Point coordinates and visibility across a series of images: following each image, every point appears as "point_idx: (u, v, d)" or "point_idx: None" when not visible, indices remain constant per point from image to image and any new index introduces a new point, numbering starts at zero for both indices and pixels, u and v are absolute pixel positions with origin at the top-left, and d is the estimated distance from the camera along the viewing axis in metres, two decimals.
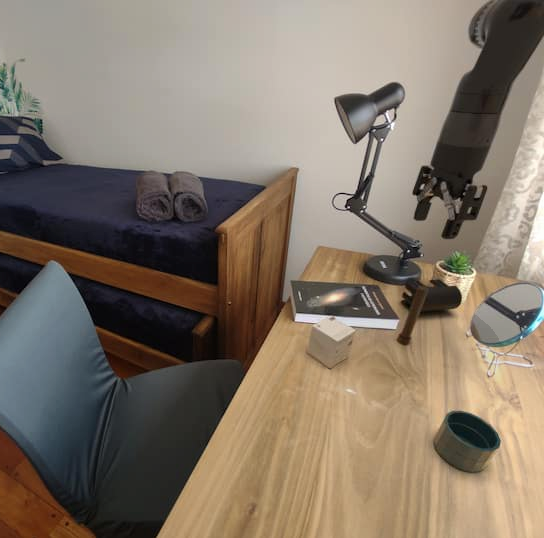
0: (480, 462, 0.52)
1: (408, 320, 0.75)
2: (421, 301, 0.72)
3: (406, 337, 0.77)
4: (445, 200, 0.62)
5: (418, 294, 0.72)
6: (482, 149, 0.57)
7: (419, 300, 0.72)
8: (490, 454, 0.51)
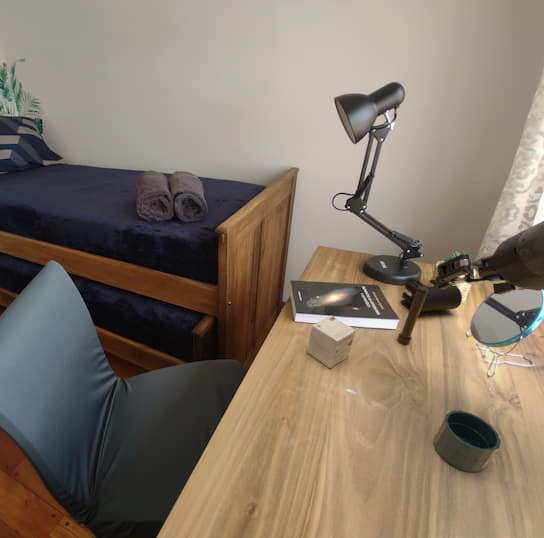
0: (480, 462, 0.52)
1: (408, 320, 0.75)
2: (421, 301, 0.72)
3: (406, 337, 0.77)
4: (519, 287, 0.52)
5: (418, 294, 0.72)
6: None
7: (419, 300, 0.72)
8: (490, 454, 0.51)
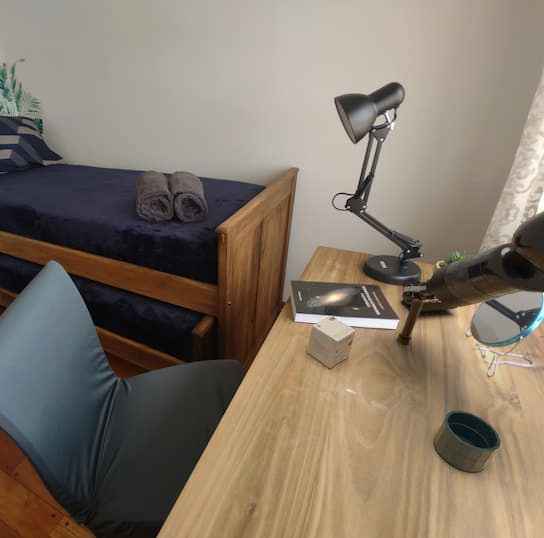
0: (480, 462, 0.52)
1: (408, 320, 0.75)
2: None
3: (406, 337, 0.77)
4: None
5: None
6: None
7: None
8: (490, 454, 0.51)
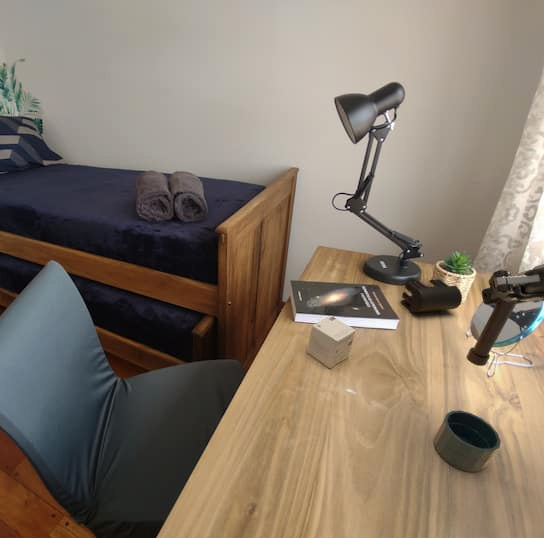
0: (480, 462, 0.52)
1: (488, 329, 0.50)
2: (515, 301, 0.47)
3: (483, 354, 0.52)
4: None
5: None
6: None
7: None
8: (490, 454, 0.51)
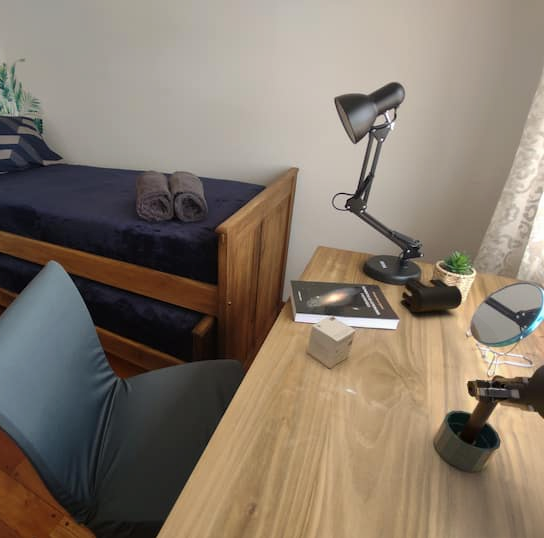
0: (480, 462, 0.52)
1: (473, 420, 0.52)
2: None
3: (469, 441, 0.53)
4: None
5: None
6: None
7: None
8: (490, 454, 0.51)
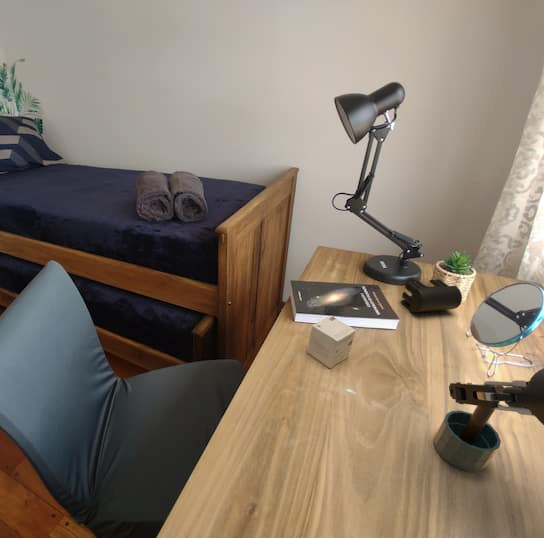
0: (480, 462, 0.52)
1: (470, 426, 0.53)
2: None
3: None
4: None
5: None
6: None
7: None
8: (490, 454, 0.51)
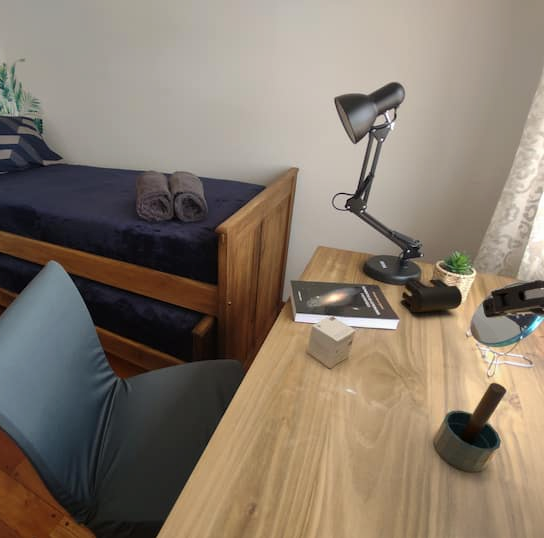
0: (480, 462, 0.52)
1: (470, 426, 0.53)
2: (495, 406, 0.49)
3: None
4: None
5: (490, 396, 0.49)
6: None
7: (491, 404, 0.49)
8: (490, 454, 0.51)
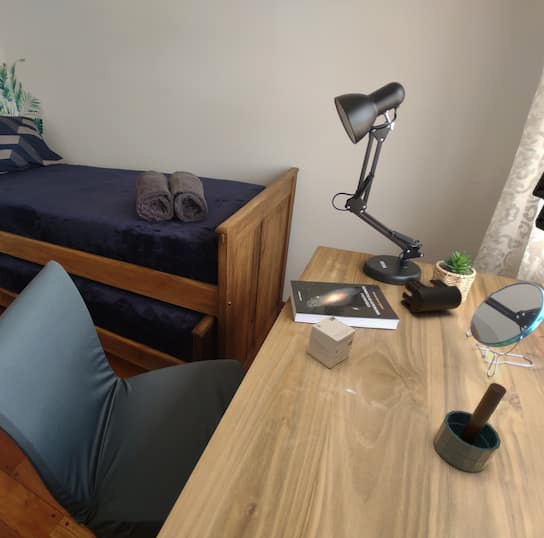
0: (480, 462, 0.52)
1: (470, 426, 0.53)
2: (495, 406, 0.49)
3: None
4: None
5: (490, 396, 0.49)
6: None
7: (491, 404, 0.49)
8: (490, 454, 0.51)
